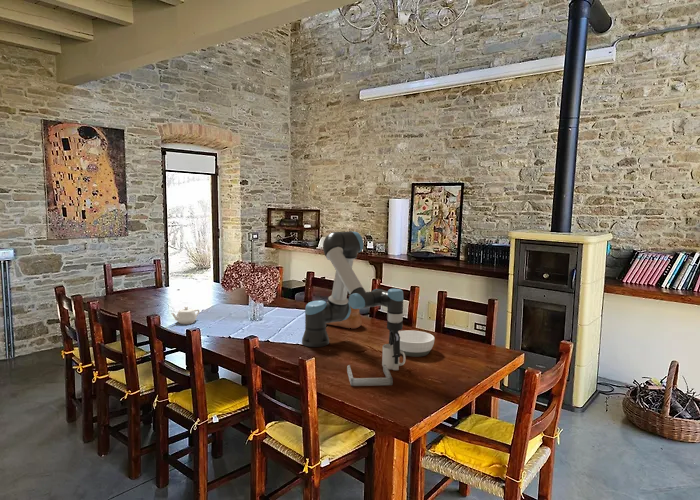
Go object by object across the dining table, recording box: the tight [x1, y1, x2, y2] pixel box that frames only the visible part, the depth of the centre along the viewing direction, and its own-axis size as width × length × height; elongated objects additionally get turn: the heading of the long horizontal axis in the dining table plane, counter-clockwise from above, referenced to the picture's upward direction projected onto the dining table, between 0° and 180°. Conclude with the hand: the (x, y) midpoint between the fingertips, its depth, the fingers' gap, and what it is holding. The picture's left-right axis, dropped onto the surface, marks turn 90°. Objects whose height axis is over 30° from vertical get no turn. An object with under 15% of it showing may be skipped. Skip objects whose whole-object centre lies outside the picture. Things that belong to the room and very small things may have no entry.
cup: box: [381, 343, 406, 370], centre depth 223 cm, size 8×12×10 cm
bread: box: [326, 306, 363, 330], centre depth 296 cm, size 14×26×15 cm, turn 59°
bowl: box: [398, 329, 435, 358], centre depth 247 cm, size 22×22×8 cm
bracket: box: [346, 364, 394, 387], centre depth 209 cm, size 18×17×3 cm
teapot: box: [171, 306, 200, 325], centre depth 294 cm, size 20×12×10 cm, turn 142°
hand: (393, 366), depth 224 cm, fingers closed on cup, 9 cm apart
